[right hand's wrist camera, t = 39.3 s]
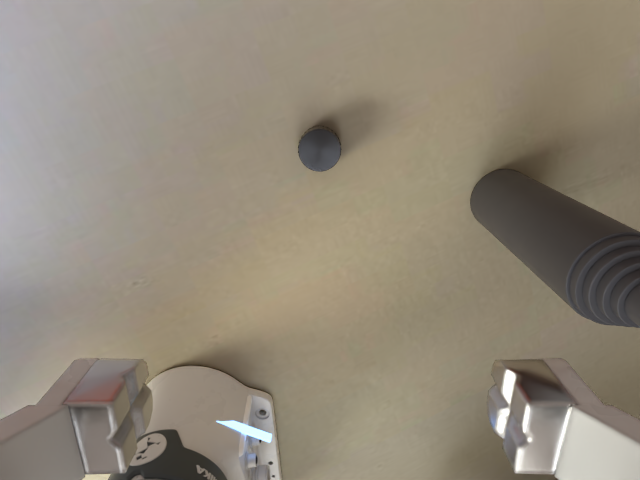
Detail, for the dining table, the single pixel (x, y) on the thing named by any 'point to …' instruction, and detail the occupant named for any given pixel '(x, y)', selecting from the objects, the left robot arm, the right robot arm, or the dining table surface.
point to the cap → (319, 148)
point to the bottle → (565, 245)
